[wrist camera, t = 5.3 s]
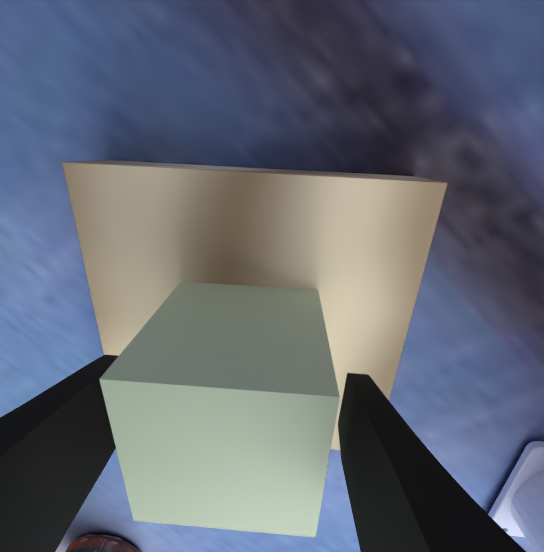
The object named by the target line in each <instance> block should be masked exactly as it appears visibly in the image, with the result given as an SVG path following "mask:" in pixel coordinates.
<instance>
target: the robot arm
mask: <svg viewBox="0 0 544 552" xmlns="http://www.w3.org/2000/svg"><path fill="white" fill-rule="evenodd" d="M117 357H118V355H104V356H102V357H100V358H98V359H96V360H95V361H93V362H91V363H90V364H88V365H86V366H85V367H83V368H81V369H80V370H78V371H77V372H75V373H73V374H72V375H70V376H68V377H67V378H65V379H64V380H62V381H60V382H59V383H57V384H56V385H54V386H52V387H51V388H49V389H47V390H46V391H44V392H43V393H41V394H39V395H38V396H36V397H34V398H33V399H31V400H30V401H28V402H26V403H25V404H23V405H21V406H20V407H18V408H16V409H15V410H13V411H11V412H9V413H8V414H6V415H4V416H2V417H1V418H0V552H55V551H56V549H57V547H58V546H59V544H60V542H61V540H62V538H63V537H64V535H65V533H66V531H67V529H68V528H69V526H70V524H71V523H72V521H73V519H74V518H75V516H76V514H77V513H78V511H79V509H80V508H81V506H82V504H83V503H84V501H85V499H86V498H87V496H88V494H89V493H90V491H91V489H92V487H93V486H94V484H95V482H96V481H97V479H98V477H99V476H100V474H101V472H102V471H103V469H104V467H105V466H106V464H107V462H108V460H109V459H110V457H111V455H112V454H113V452H114V450H115V448H116V446H115V442H114V438H113V433H112V429H111V425H110V421H109V417H108V413H107V409H106V405H105V400H104V396H103V392H102V388H101V384H100V380H99V379H100V378H101V377H102V375H103V374H104V373H105V372H106V371H107V369H108V368H109V367H110V366H111V365H112V363H113V362H114V361H115V360H116V359H117ZM338 432H339V442H340V451H341V460H342V465H343V470H344V475H345V480H346V484H347V489H348V494H349V499H350V503H351V508H352V513H353V517H354V522H355V527H356V531H357V536H358V541H359V545H360V550H361V552H526V551H525V550H524V549H523V548H522V547H520V546H519V545H518V544H517V543H516V542H515V541H514V540H513V539H512V538H511V537H510V536H519V537H525V538H526V540H527V541H528V543H529V545H530V546H531V548H532V550H533V551H534V552H544V441H533V442H530V443H529V444H528V445H527V446H526V447H525V449H524V451H523V453H522V454H521V456H520V458H519V460H518V462H517V463H516V465H515V467H514V469H513V471H512V472H511V474H510V476H509V478H508V480H507V481H506V483H505V485H504V487H503V489H502V490H501V492H500V494H499V496H498V497H497V499H496V501H495V503H494V505H493V506H492V508H491V510H490V512H489V514H487V513H486V512H485V511H484V510H483V509H482V508H481V507H480V506H479V505H478V504H477V503H476V502H475V501H474V500H473V499H472V498H471V497H470V496H469V495H468V493H467V492H466V491H465V490H464V489H463V488H462V487H461V486H460V485H459V484H458V483H457V482H456V480H455V479H454V478H453V477H452V476H451V475H450V474H449V473H448V472H447V470H446V469H445V468H444V467H443V466H442V465H441V464H440V463H439V462H438V460H437V459H436V458H435V457H434V456H433V455H432V453H431V452H430V451H429V450H428V449H427V448H426V446H425V445H424V444H423V443H422V442H421V440H420V439H419V438H418V437H417V436H416V434H415V433H414V432H413V431H412V429H411V428H410V427H409V426H408V425H407V423H406V422H405V421H404V420H403V418H402V417H401V416H400V415H399V413H398V412H397V411H396V409H395V408H394V407H393V406H392V404H391V403H390V402H389V400H388V399H387V398H386V396H385V395H384V394H383V392H382V391H381V390H380V389H379V387H378V386H377V385H376V383H375V382H374V381H373V379H372V378H371V377H370V376H369V374H356V373H347V377H346V382H345V387H344V393H343V398H342V404H341V409H340V414H339V420H338Z"/></svg>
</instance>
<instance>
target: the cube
mask: <svg viewBox="0 0 544 552" xmlns="http://www.w3.org/2000/svg"><path fill="white" fill-rule="evenodd" d="M99 380H100V384H101V388H102V392H103V396H104V400H105V405H106V409H107V413H108V417H109V421H110V425H111V429H112V433H113V438H114V442H115V446H116V450H117V454H118V458H119V462H120V466H121V471H122V475H123V479H124V483H125V487H126V491H127V495H128V499H129V504H130V508H131V512H132V516H133V520H134V521H142V522H153V523H164V524H175V525H186V526H197V527H208V528H219V529H230V530H241V531H252V532H263V533H274V534H285V535H296V536H307V537H316V531H317V525H318V520H319V514H320V508H321V502H322V497H323V491H324V485H325V479H326V474H327V468H328V462H329V456H330V451H331V445H332V439H333V433H334V428H335V422H336V416H337V410H338V405H339V399H340V396H339V391H338V386H337V381H336V376H335V371H334V366H333V361H332V356H331V351H330V346H329V341H328V336H327V331H326V326H325V321H324V316H323V311H322V306H321V301H320V296H319V291H318V290H310V289H294V288H278V287H261V286H245V285H229V284H213V283H196V282H180V283H179V284H178V285H177V287H176V288H175V289H174V290H173V291H172V293H171V294H170V295H169V296H168V297H167V299H166V300H165V301H164V302H163V303H162V305H161V306H160V307H159V308H158V309H157V311H156V312H155V313H154V314H153V315H152V317H151V318H150V319H149V320H148V321H147V323H146V324H145V325H144V326H143V327H142V329H141V330H140V331H139V332H138V333H137V335H136V336H135V337H134V338H133V339H132V341H131V342H130V343H129V344H128V345H127V347H126V348H125V349H124V350H123V351H122V353H121V354H120V355H119V356H118V357H117V359H116V360H115V361H114V362H113V363H112V365H111V366H110V367H109V368H108V369H107V371H106V372H105V373H104V374H103V375H102V377H101V378H100V379H99Z"/></svg>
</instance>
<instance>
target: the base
mask: <svg viewBox="0 0 544 552" xmlns="http://www.w3.org/2000/svg"><path fill="white" fill-rule="evenodd" d="M62 164H63V169H64V174H65V178H66V183H67V187H68V192H69V196H70V201H71V206H72V210H73V215H74V219H75V224H76V228H77V233H78V238H79V242H80V247H81V251H82V256H83V260H84V265H85V270H86V274H87V279H88V283H89V288H90V293H91V297H92V302H93V306H94V311H95V315H96V320H97V325H98V329H99V334H100V338H101V343H102V347H103V352H104V355H118V356H119V355H120V354H121V353H122V351H123V350H124V349H125V348H126V347H127V345H128V344H129V343H130V342H131V341H132V339H133V338H134V337H135V336H136V335H137V333H138V332H139V331H140V330H141V329H142V327H143V326H144V325H145V324H146V323H147V321H148V320H149V319H150V318H151V317H152V315H153V314H154V313H155V312H156V311H157V309H158V308H159V307H160V306H161V305H162V303H163V302H164V301H165V300H166V299H167V297H168V296H169V295H170V294H171V293H172V291H173V290H174V289H175V288H176V287H177V285H178V284H179V283H180V282H196V283H213V284H229V285H245V286H261V287H278V288H294V289H310V290H318V291H319V296H320V301H321V306H322V311H323V316H324V321H325V326H326V331H327V336H328V341H329V346H330V351H331V356H332V361H333V366H334V371H335V376H336V381H337V386H338V391H339V396H340V399H339V405H338V410H337V416H336V422H335V428H334V433H333V439H332V445H331V449H334V450H340V442H339V432H338V420H339V414H340V409H341V404H342V398H343V393H344V387H345V382H346V377H347V373H356V374H369V376H370V377H371V378H372V379H373V381H374V382H375V383H376V385H377V386H378V387H379V389H380V390H381V391H382V392H383V394H384V395H385V396H386V398H387V399H388V400H389V398H390V394H391V391H392V387H393V383H394V379H395V376H396V372H397V368H398V365H399V361H400V357H401V353H402V350H403V346H404V342H405V339H406V335H407V331H408V327H409V324H410V320H411V316H412V313H413V309H414V305H415V301H416V298H417V294H418V290H419V287H420V283H421V279H422V275H423V272H424V268H425V264H426V261H427V257H428V253H429V250H430V246H431V242H432V238H433V235H434V231H435V227H436V224H437V220H438V216H439V212H440V209H441V205H442V201H443V198H444V194H445V190H446V186H447V183H445V182H440V181H435V180H430V179H426V178H421V177H416V176H399V175H380V174H361V173H342V172H324V171H305V170H286V169H267V168H248V167H229V166H210V165H191V164H172V163H153V162H134V161H116V160H99V161H80V162H62Z"/></svg>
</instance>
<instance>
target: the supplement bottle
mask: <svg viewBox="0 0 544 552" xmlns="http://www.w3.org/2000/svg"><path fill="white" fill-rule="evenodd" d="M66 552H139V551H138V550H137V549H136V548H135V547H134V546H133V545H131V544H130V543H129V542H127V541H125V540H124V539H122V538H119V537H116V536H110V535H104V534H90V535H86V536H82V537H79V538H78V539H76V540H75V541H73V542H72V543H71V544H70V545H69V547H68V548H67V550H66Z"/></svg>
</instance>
